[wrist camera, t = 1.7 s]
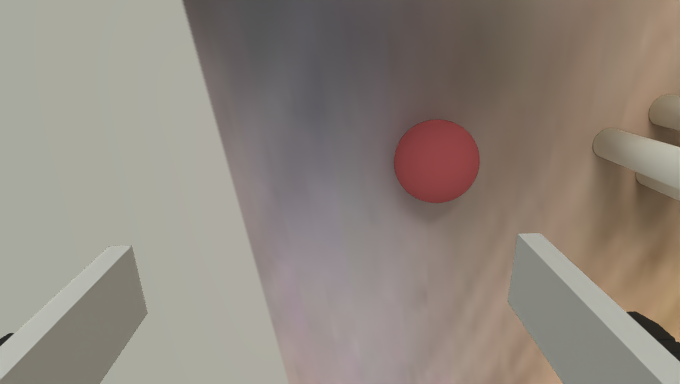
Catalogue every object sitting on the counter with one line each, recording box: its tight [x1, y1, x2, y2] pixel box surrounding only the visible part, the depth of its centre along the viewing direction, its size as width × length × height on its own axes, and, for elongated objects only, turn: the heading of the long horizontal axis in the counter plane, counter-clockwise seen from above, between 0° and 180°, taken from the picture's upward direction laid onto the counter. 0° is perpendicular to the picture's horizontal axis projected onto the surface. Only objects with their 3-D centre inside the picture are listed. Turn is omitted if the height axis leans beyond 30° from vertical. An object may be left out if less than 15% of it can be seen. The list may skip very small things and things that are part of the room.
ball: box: [394, 120, 480, 203], centre depth 29 cm, size 6×6×6 cm
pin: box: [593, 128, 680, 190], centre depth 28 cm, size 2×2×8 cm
